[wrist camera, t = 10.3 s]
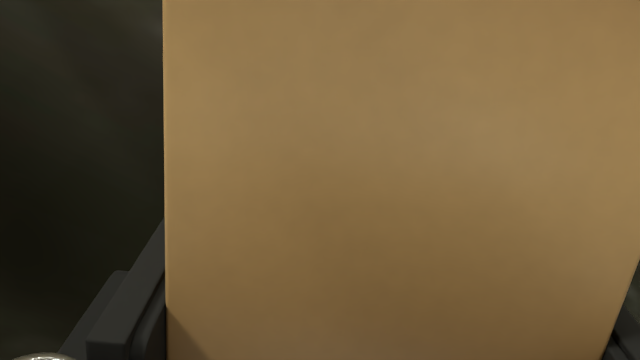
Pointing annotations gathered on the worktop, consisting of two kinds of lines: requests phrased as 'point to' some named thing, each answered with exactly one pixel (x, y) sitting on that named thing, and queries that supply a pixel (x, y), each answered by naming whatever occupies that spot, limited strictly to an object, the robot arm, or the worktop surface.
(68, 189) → the worktop surface
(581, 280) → the wooden block
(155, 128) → the worktop surface
